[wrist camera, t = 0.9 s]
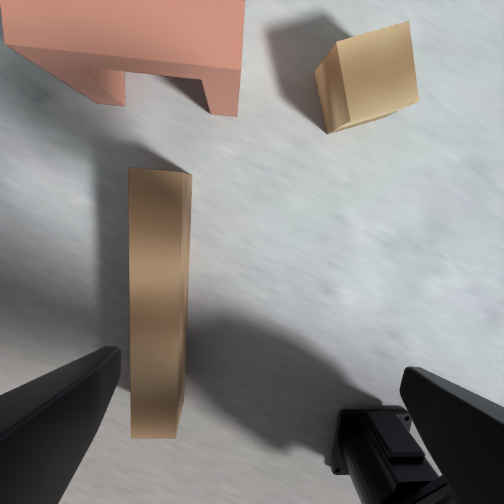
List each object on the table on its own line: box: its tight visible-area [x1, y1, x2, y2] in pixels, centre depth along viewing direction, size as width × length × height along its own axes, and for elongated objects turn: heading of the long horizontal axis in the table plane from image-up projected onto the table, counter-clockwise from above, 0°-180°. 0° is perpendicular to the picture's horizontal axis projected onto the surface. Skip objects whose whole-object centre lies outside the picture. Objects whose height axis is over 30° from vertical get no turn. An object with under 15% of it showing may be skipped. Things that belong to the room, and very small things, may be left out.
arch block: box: [0, 0, 245, 117], centre depth 14 cm, size 6×9×8 cm, turn 86°
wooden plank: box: [128, 167, 192, 439], centre depth 19 cm, size 18×3×4 cm, turn 175°
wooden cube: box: [315, 21, 419, 134], centre depth 17 cm, size 4×4×4 cm
